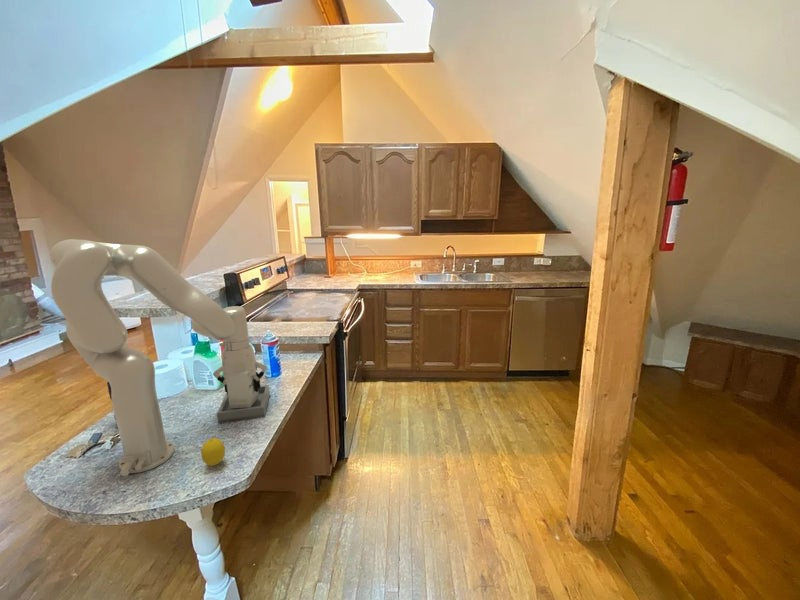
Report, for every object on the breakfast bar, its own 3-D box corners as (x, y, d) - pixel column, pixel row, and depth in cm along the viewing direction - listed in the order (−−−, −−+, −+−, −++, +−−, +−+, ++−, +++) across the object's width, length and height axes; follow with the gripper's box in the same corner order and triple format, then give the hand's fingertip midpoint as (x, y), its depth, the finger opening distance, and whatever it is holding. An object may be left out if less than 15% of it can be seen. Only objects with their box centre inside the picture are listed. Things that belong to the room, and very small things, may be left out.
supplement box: (251, 408, 119) (246, 373, 116) (229, 408, 120) (224, 373, 117) (260, 397, 127) (255, 364, 124) (239, 397, 127) (234, 364, 124)
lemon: (201, 474, 92) (196, 447, 90) (206, 460, 98) (201, 434, 96) (225, 469, 94) (220, 443, 92) (228, 456, 99) (224, 430, 97)
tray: (264, 416, 118) (263, 407, 117) (218, 423, 115) (216, 413, 114) (269, 393, 133) (268, 384, 132) (229, 398, 130) (227, 389, 129)
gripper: (205, 350, 112) (213, 400, 117) (263, 345, 116) (269, 393, 121) (211, 342, 120) (218, 390, 124) (266, 337, 123) (271, 383, 128)
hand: (243, 391), depth 122 cm, fingers closed on supplement box, 8 cm apart
